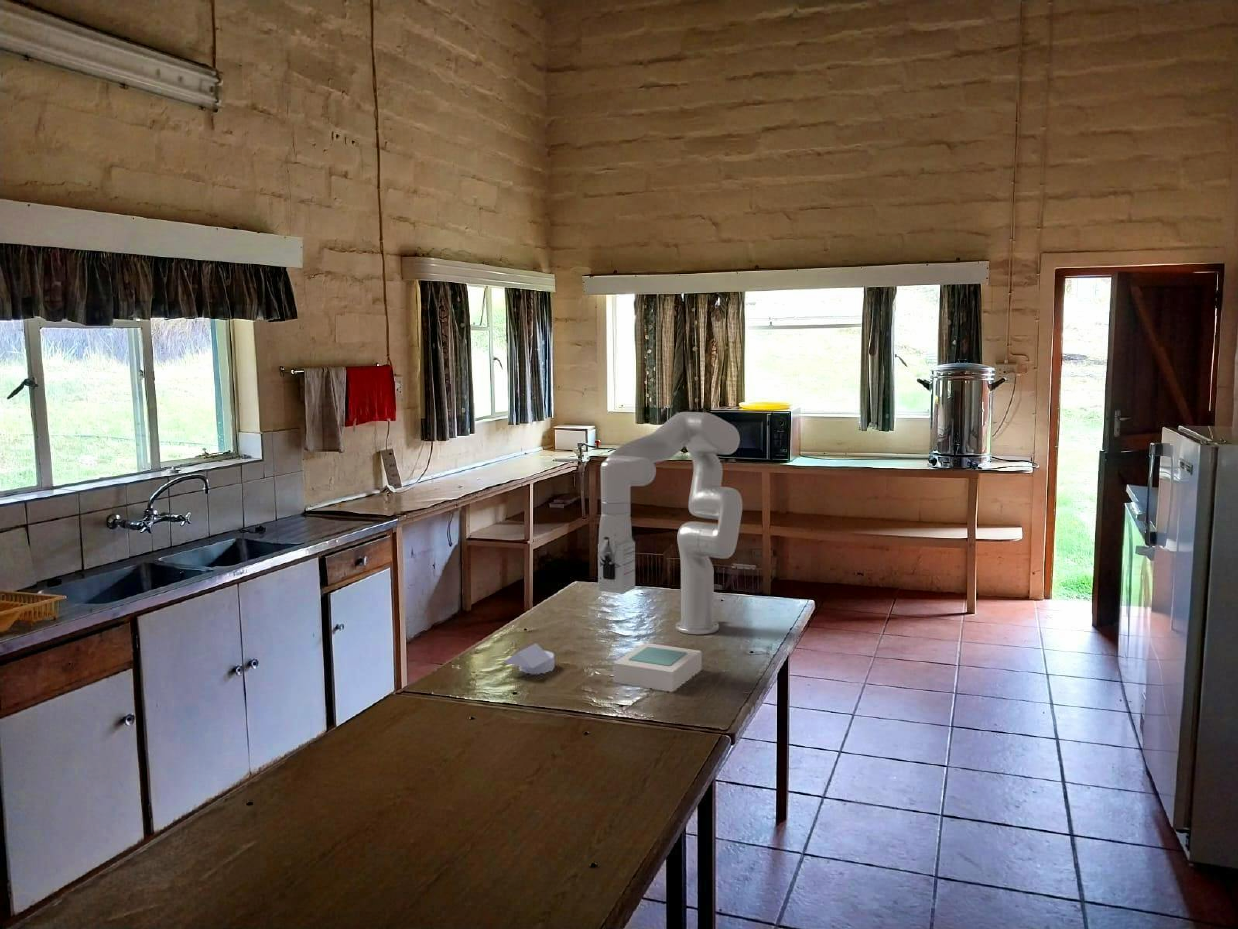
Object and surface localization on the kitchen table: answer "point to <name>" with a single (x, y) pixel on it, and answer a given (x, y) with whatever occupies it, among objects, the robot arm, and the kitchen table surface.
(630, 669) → the stand
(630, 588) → the supplement box
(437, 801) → the kitchen table surface
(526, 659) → the wedge on round base
